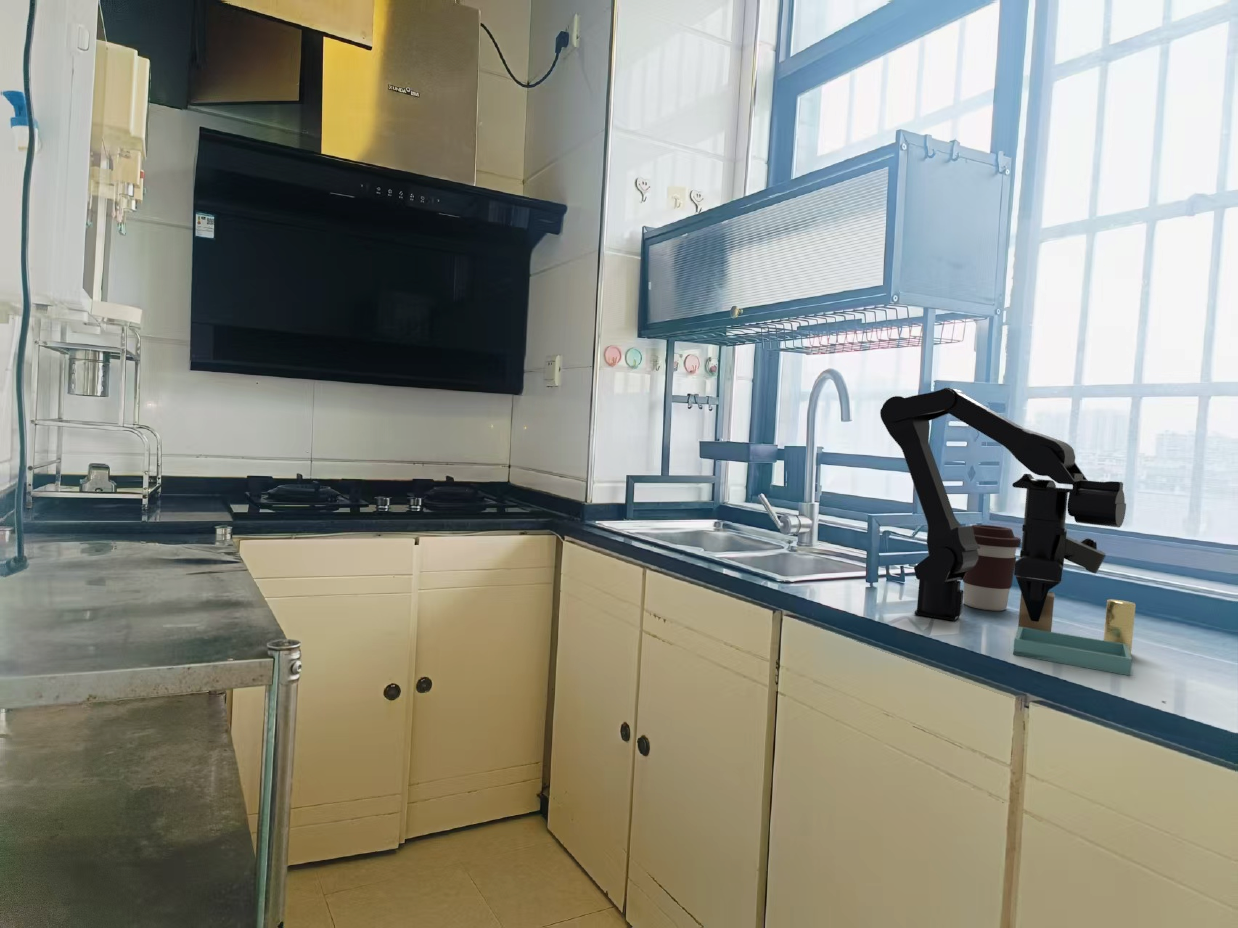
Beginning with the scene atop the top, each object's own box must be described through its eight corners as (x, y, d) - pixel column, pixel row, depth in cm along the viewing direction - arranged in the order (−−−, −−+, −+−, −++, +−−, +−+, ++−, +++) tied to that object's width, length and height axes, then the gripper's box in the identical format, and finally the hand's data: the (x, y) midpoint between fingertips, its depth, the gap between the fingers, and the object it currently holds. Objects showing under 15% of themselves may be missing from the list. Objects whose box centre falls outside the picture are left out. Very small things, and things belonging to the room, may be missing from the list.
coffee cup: (964, 598, 152) (971, 522, 151) (1020, 608, 146) (1027, 528, 145) (949, 605, 144) (955, 524, 144) (1007, 615, 138) (1014, 531, 137)
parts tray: (1013, 654, 111) (1014, 639, 111) (1017, 640, 119) (1019, 626, 119) (1130, 675, 104) (1131, 659, 104) (1126, 659, 112) (1127, 644, 112)
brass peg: (1102, 651, 116) (1107, 601, 116) (1102, 646, 119) (1106, 598, 119) (1131, 656, 114) (1136, 606, 114) (1130, 651, 117) (1135, 602, 117)
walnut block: (1017, 636, 122) (1021, 592, 122) (1019, 631, 126) (1022, 588, 126) (1049, 642, 120) (1053, 597, 120) (1050, 636, 124) (1054, 593, 124)
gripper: (1106, 529, 110) (1096, 638, 111) (1103, 521, 126) (1094, 616, 127) (1018, 520, 116) (1009, 624, 116) (1025, 513, 132) (1017, 604, 133)
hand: (1035, 617), depth 123 cm, fingers open, 7 cm apart
